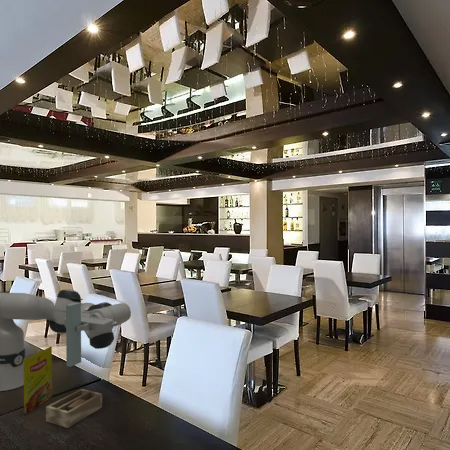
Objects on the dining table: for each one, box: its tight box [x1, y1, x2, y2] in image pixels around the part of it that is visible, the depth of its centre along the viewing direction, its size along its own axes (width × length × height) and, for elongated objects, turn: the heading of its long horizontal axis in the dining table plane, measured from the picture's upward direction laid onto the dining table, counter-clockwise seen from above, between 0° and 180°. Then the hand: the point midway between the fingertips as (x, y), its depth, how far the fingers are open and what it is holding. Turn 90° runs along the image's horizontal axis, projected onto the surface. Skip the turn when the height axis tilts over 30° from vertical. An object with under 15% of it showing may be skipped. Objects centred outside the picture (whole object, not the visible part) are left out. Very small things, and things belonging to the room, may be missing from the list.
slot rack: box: [45, 388, 103, 429], centre depth 136 cm, size 10×16×5 cm, turn 155°
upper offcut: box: [68, 399, 86, 411], centre depth 134 cm, size 3×6×2 cm, turn 166°
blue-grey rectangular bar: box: [65, 302, 82, 368], centre depth 139 cm, size 2×5×22 cm, turn 155°
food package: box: [23, 346, 53, 416], centre depth 143 cm, size 15×1×20 cm, turn 168°
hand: (72, 328), depth 138 cm, fingers closed on blue-grey rectangular bar, 2 cm apart
